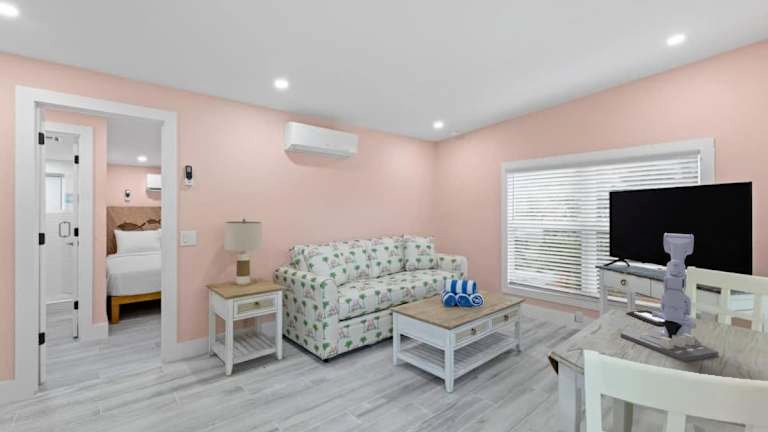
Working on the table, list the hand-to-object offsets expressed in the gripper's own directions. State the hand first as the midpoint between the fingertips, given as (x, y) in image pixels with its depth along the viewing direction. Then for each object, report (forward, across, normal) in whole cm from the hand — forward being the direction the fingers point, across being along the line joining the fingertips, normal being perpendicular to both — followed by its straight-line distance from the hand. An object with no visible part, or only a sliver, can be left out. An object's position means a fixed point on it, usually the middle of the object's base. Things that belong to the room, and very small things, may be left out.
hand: (672, 340), depth 134 cm
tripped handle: (+1, +2, 0) cm, 3 cm away
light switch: (+4, -26, +28) cm, 38 cm away
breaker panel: (+3, -2, 0) cm, 4 cm away
